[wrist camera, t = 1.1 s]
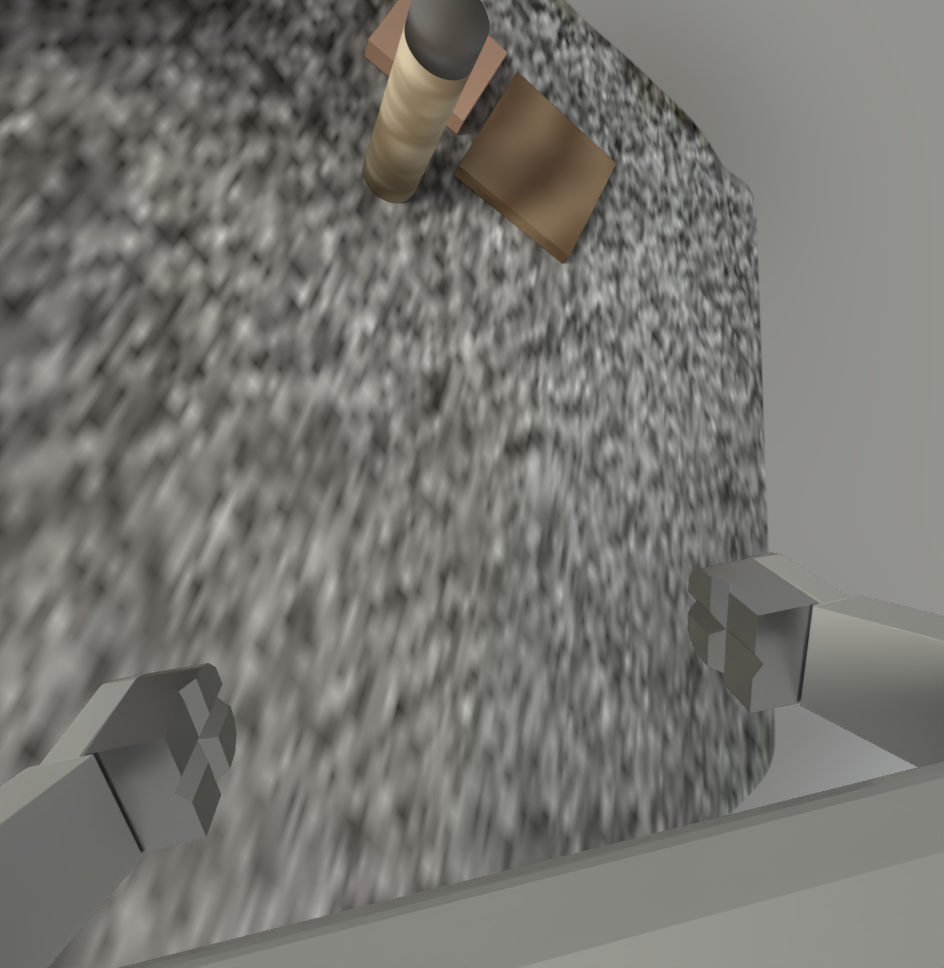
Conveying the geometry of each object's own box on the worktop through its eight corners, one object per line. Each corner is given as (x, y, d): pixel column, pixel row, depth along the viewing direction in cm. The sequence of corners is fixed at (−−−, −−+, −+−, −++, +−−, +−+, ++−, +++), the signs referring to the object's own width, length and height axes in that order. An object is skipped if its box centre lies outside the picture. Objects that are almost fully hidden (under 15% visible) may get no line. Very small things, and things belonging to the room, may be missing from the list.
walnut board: (453, 174, 43) (458, 165, 42) (510, 82, 46) (517, 71, 45) (562, 263, 47) (569, 256, 46) (608, 171, 50) (616, 163, 49)
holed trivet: (364, 56, 41) (368, 39, 40) (415, -12, 44) (420, -29, 42) (456, 134, 44) (463, 121, 42) (500, 66, 46) (507, 52, 45)
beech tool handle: (352, 176, 40) (400, 5, 27) (379, 138, 41) (437, -44, 28) (401, 213, 41) (468, 66, 28) (425, 175, 42) (501, 17, 29)
